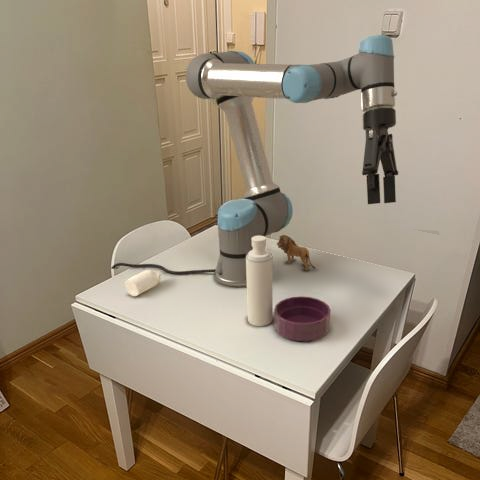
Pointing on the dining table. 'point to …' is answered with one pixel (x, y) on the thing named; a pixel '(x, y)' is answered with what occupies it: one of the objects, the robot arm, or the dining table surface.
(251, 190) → the robot arm
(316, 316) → the bowl
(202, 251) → the dining table surface
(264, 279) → the spray bottle
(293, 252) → the lion figurine
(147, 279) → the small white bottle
